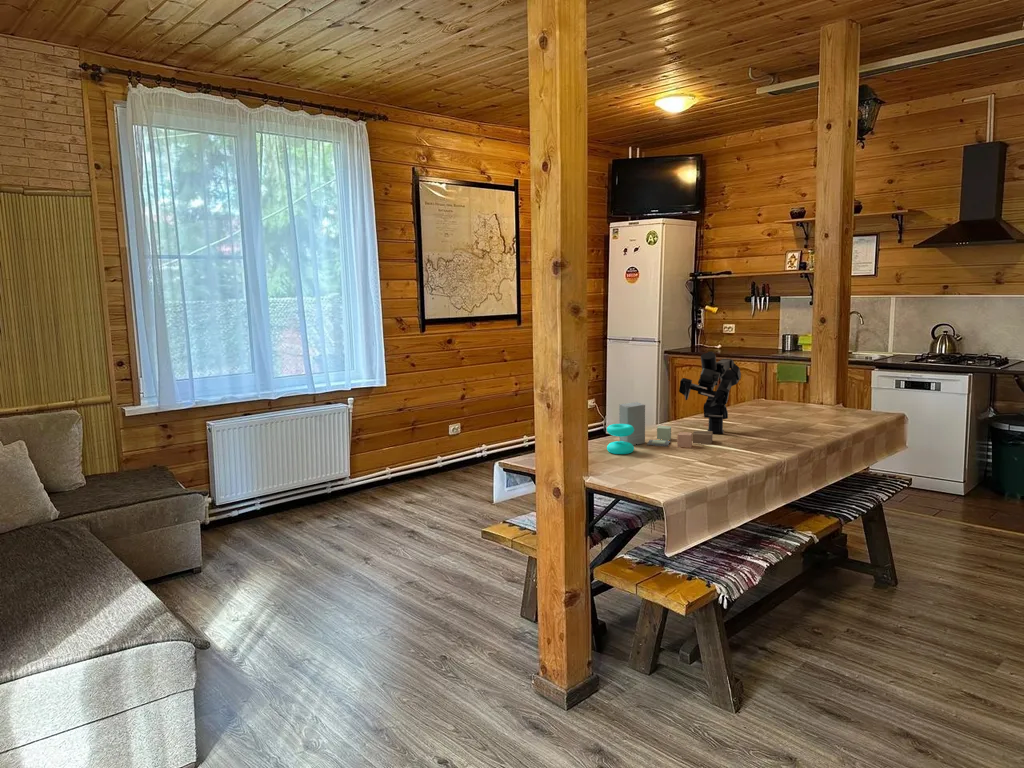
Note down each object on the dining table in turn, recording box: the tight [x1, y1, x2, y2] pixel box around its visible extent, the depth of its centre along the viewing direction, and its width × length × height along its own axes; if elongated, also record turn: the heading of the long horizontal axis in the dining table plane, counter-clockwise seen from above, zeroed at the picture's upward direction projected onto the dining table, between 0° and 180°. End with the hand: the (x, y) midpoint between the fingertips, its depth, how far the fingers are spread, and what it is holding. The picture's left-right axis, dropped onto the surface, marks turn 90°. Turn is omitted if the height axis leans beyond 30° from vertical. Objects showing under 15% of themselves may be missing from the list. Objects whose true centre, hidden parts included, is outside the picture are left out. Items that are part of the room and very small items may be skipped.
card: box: [646, 439, 671, 447], centre depth 275 cm, size 8×8×1 cm
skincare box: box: [618, 401, 646, 446], centre depth 275 cm, size 8×7×16 cm
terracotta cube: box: [676, 431, 693, 449], centre depth 269 cm, size 5×5×5 cm
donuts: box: [606, 423, 635, 455], centre depth 262 cm, size 10×10×10 cm
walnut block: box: [692, 430, 714, 445], centre depth 276 cm, size 7×7×4 cm
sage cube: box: [656, 425, 672, 441], centre depth 283 cm, size 5×5×5 cm
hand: (697, 402), depth 270 cm, fingers open, 9 cm apart
